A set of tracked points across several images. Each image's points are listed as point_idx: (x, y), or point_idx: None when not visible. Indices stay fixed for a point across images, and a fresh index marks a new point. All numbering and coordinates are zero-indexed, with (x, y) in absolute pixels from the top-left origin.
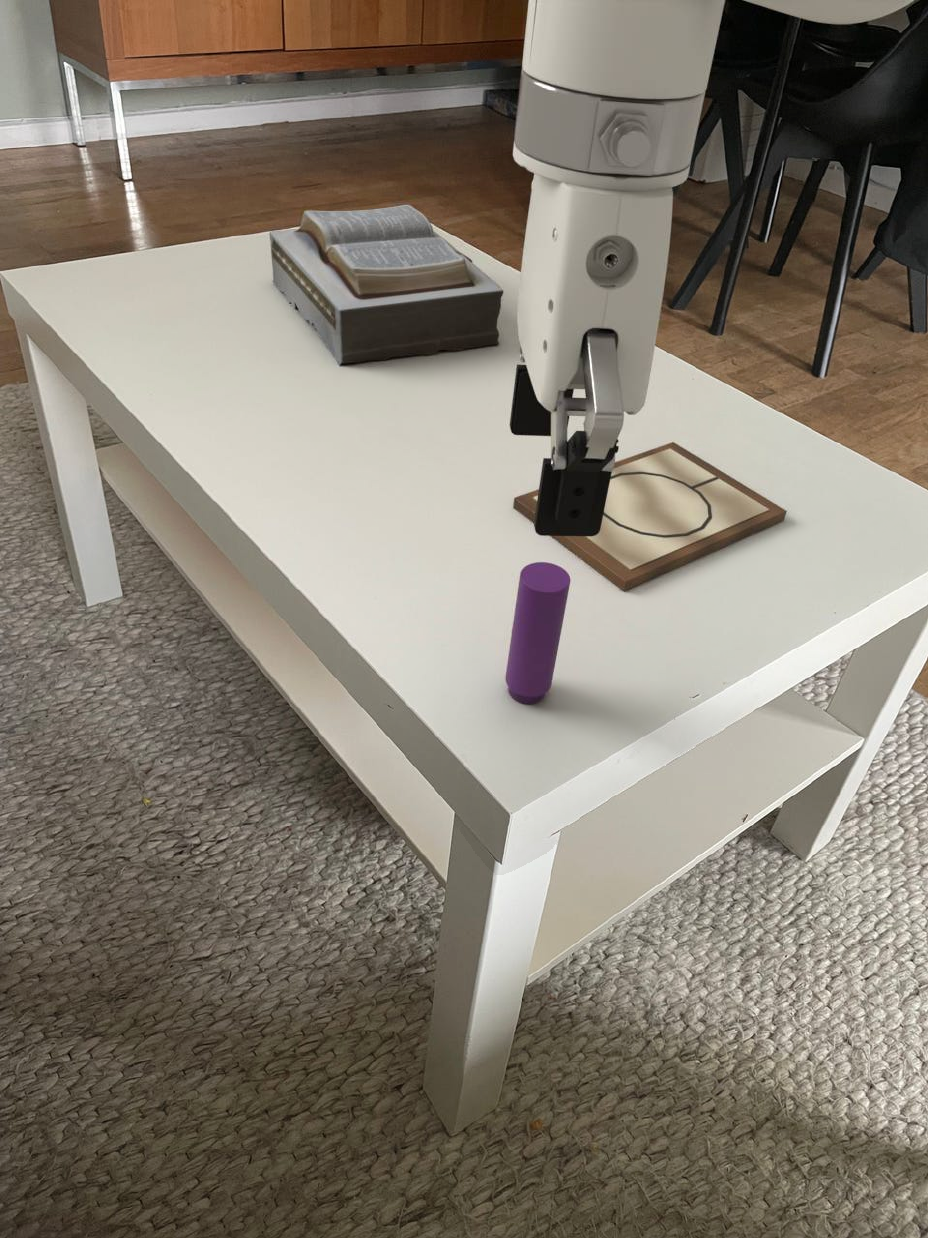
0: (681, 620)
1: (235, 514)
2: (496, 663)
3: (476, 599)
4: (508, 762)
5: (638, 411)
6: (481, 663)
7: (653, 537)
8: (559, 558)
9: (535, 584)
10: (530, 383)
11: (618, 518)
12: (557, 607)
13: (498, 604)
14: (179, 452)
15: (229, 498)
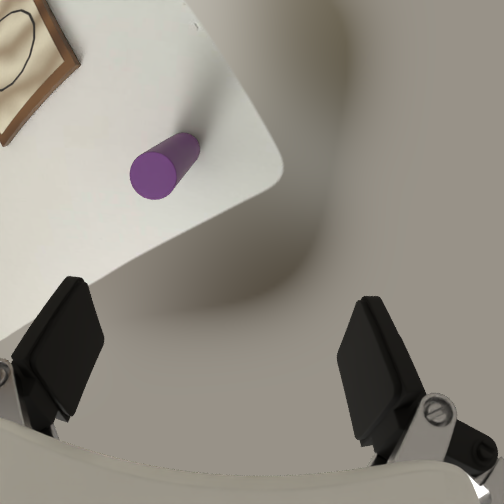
0: (113, 25)
1: None
2: None
3: (92, 173)
4: (253, 171)
5: (462, 469)
6: None
7: (34, 46)
8: (48, 111)
9: (164, 187)
10: (71, 394)
11: (16, 72)
12: (178, 160)
13: (95, 158)
14: (24, 321)
15: None
